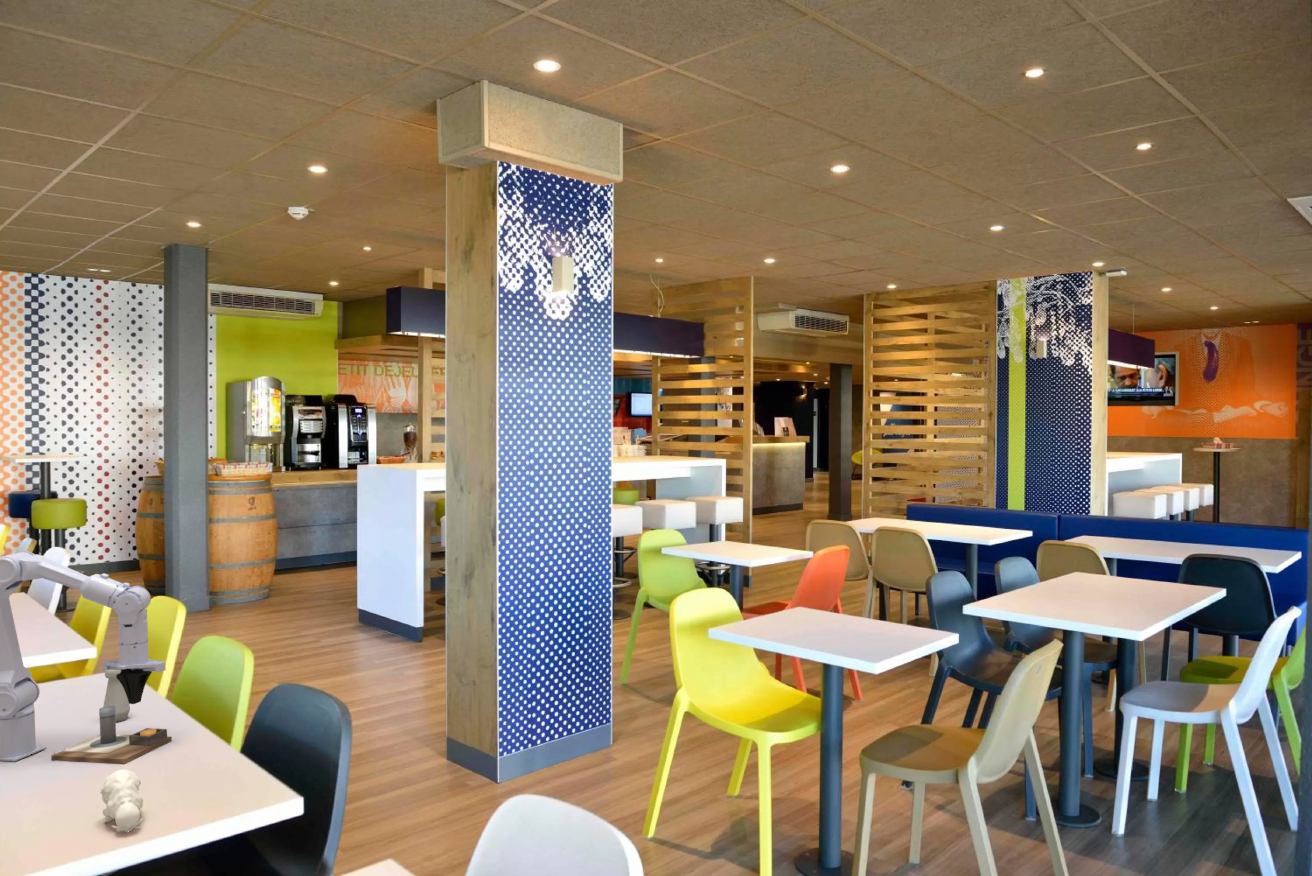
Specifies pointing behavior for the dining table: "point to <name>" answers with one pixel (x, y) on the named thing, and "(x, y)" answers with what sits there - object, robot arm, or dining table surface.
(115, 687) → the salt shaker
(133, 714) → the dining table surface
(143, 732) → the button
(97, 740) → the board
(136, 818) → the white crouching figurine
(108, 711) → the cylinder
